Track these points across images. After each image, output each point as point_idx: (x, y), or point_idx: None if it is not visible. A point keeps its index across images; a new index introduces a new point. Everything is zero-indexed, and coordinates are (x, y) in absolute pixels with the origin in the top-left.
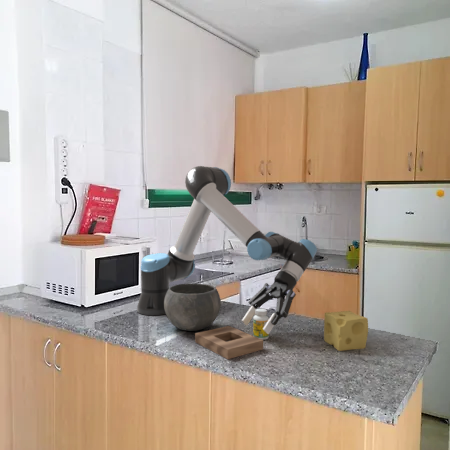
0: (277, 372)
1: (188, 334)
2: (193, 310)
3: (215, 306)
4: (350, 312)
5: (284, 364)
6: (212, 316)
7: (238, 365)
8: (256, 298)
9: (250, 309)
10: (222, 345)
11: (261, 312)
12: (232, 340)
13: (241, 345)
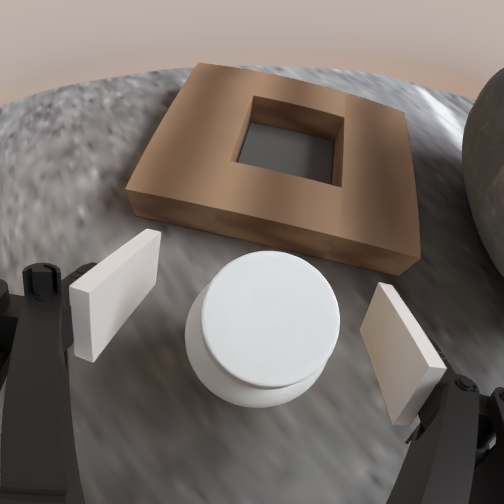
0: (36, 116)
1: (463, 180)
2: (482, 89)
3: None
4: None
5: (25, 161)
6: (482, 188)
7: (146, 83)
8: (496, 462)
9: (417, 340)
10: (237, 72)
11: (226, 265)
12: (244, 114)
13: (178, 99)
